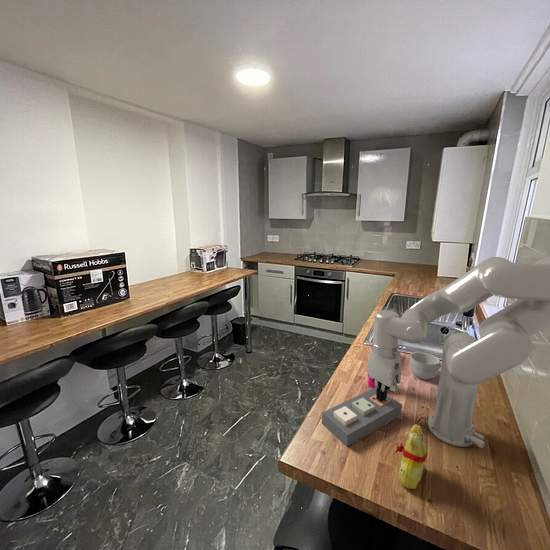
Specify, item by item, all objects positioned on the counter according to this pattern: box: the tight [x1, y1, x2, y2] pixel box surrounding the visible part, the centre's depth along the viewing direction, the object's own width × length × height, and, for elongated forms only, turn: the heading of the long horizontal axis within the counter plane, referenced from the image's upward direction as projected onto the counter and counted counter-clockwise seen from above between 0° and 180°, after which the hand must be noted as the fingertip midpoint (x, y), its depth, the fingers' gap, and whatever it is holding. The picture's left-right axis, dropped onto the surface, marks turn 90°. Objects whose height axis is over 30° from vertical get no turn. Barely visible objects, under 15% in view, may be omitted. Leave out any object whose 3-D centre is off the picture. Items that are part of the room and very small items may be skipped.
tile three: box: [369, 395, 391, 407], centre depth 99 cm, size 5×5×4 cm
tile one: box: [333, 406, 357, 427], centre depth 90 cm, size 5×5×4 cm
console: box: [321, 387, 403, 448], centre depth 95 cm, size 11×25×4 cm, turn 122°
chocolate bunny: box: [394, 424, 428, 490], centre depth 74 cm, size 7×11×15 cm, turn 140°
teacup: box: [409, 351, 442, 381], centre depth 118 cm, size 14×11×8 cm
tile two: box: [352, 398, 375, 417], centre depth 94 cm, size 5×5×4 cm
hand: (381, 398), depth 98 cm, fingers closed
